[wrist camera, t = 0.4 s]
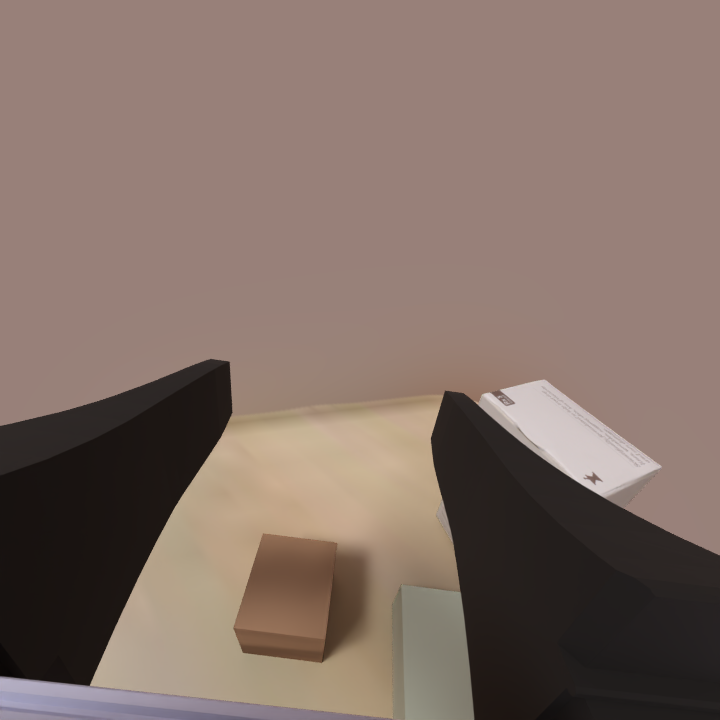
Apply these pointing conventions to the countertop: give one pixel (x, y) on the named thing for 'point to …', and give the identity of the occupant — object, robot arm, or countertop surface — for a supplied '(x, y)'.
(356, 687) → the countertop surface
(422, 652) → the sage block
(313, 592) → the walnut cube
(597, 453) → the skincare box
